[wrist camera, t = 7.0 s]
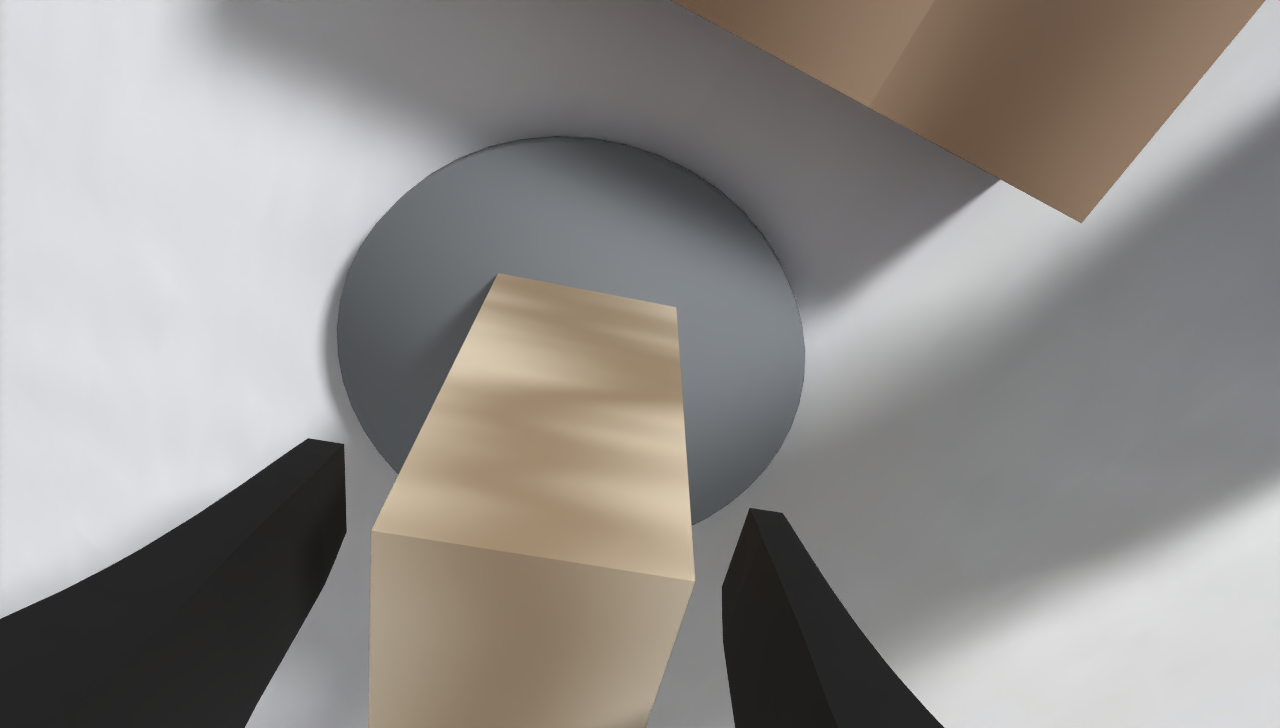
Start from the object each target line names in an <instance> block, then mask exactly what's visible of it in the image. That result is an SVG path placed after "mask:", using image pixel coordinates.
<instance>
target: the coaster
mask: <svg viewBox="0 0 1280 728" xmlns="http://www.w3.org/2000/svg"><path fill="white" fill-rule="evenodd" d="M498 273H500V274H506V275H511V276H516V277H521V278H527V279H532V280H537V281H542V282H547V283H553V284H558V285H563V286H568V287H573V288H579V289H584V290H589V291H594V292H599V293H605V294H610V295H615V296H620V297H625V298H631V299H636V300H641V301H646V302H652V303H657V304H662V305H667V306H672V307H676V310H677V325H678V339H679V354H680V368H681V382H682V397H683V411H684V425H685V440H686V454H687V469H688V483H689V497H690V512H691V526H692V525H694V524H696V523H698V522H700V521H702V520H704V519H706V518H708V517H709V516H711V515H712V514H714V513H716V512H717V511H719V510H720V509H722V508H723V507H725V506H726V505H728V504H729V503H730V502H732V501H733V500H734V499H735V498H736V497H738V496H739V495H740V494H741V493H742V492H744V491H745V490H746V489H747V488H748V487H749V486H750V485H751V484H752V483H753V482H754V481H755V480H756V479H757V478H758V476H759V475H760V474H761V473H762V472H763V471H764V470H765V469H766V467H767V466H768V464H769V463H770V462H771V460H772V459H773V457H774V456H775V455H776V453H777V452H778V450H779V449H780V447H781V445H782V443H783V441H784V439H785V437H786V435H787V434H788V432H789V430H790V428H791V425H792V422H793V419H794V417H795V414H796V411H797V408H798V405H799V402H800V396H801V391H802V386H803V381H804V367H805V346H804V337H803V329H802V322H801V319H800V315H799V311H798V308H797V304H796V300H795V297H794V294H793V292H792V290H791V287H790V285H789V283H788V280H787V278H786V276H785V274H784V271H783V269H782V267H781V265H780V262H779V260H778V258H777V257H776V255H775V254H774V252H773V250H772V249H771V247H770V246H769V244H768V242H767V241H766V239H765V238H764V236H763V235H762V233H761V232H760V231H759V230H758V229H757V227H756V226H755V225H754V224H753V223H752V222H751V220H750V219H749V218H748V217H747V216H746V214H745V213H744V212H743V211H742V210H741V209H740V208H739V207H738V206H736V205H735V204H734V203H733V202H732V201H731V200H730V199H729V198H727V197H726V196H725V195H724V194H723V193H722V192H721V191H720V190H718V189H717V188H716V187H714V186H713V185H711V184H710V183H708V182H707V181H705V180H704V179H702V178H701V177H699V176H698V175H696V174H695V173H693V172H692V171H690V170H688V169H686V168H684V167H682V166H680V165H678V164H676V163H674V162H671V161H669V160H667V159H665V158H663V157H661V156H659V155H656V154H653V153H650V152H647V151H644V150H641V149H638V148H635V147H632V146H629V145H625V144H620V143H615V142H609V141H604V140H599V139H593V138H578V137H559V136H556V137H544V138H532V139H522V140H517V141H513V142H508V143H504V144H499V145H495V146H490V147H487V148H485V149H482V150H480V151H477V152H474V153H472V154H469V155H466V156H464V157H461V158H459V159H457V160H455V161H453V162H451V163H450V164H448V165H446V166H444V167H442V168H441V169H439V170H437V171H435V172H433V173H432V174H430V175H429V176H427V177H426V178H425V179H424V180H422V181H421V182H420V183H418V184H417V185H416V186H415V187H413V188H412V189H411V190H409V191H408V192H407V193H406V194H405V195H404V196H402V197H401V198H400V199H399V200H398V201H397V202H396V203H395V204H394V205H393V206H392V208H391V209H390V210H389V211H388V212H387V213H386V214H385V215H384V216H383V217H382V218H381V219H380V220H379V221H378V222H377V223H376V225H375V226H374V228H373V229H372V231H371V232H370V234H369V235H368V237H367V238H366V240H365V241H364V243H363V244H362V245H361V247H360V249H359V251H358V253H357V255H356V257H355V259H354V261H353V264H352V266H351V268H350V270H349V272H348V275H347V278H346V282H345V285H344V289H343V292H342V296H341V300H340V306H339V315H338V324H337V340H338V357H339V362H340V367H341V373H342V378H343V382H344V385H345V388H346V391H347V394H348V397H349V400H350V402H351V405H352V408H353V410H354V412H355V414H356V416H357V418H358V420H359V422H360V423H361V425H362V427H363V429H364V431H365V432H366V434H367V435H368V437H369V438H370V440H371V441H372V443H373V444H374V446H375V447H376V449H377V450H378V452H379V453H380V454H381V455H382V456H383V458H384V459H385V460H386V461H387V462H388V463H389V464H390V466H391V467H392V468H393V469H394V470H395V471H396V472H397V473H398V474H399V473H400V471H401V469H402V467H403V465H404V463H405V461H406V459H407V457H408V455H409V453H410V451H411V449H412V447H413V445H414V443H415V441H416V439H417V436H418V434H419V432H420V430H421V428H422V426H423V424H424V422H425V420H426V418H427V416H428V414H429V412H430V410H431V408H432V406H433V404H434V402H435V400H436V398H437V396H438V394H439V392H440V390H441V388H442V386H443V384H444V382H445V380H446V378H447V376H448V374H449V372H450V370H451V368H452V366H453V364H454V361H455V359H456V357H457V355H458V353H459V351H460V349H461V347H462V345H463V343H464V341H465V339H466V337H467V335H468V333H469V331H470V329H471V327H472V325H473V323H474V321H475V319H476V317H477V315H478V313H479V311H480V309H481V307H482V305H483V303H484V301H485V299H486V297H487V295H488V293H489V291H490V289H491V286H492V284H493V282H494V280H495V278H496V276H497V274H498Z"/></svg>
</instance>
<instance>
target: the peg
mask: <svg viewBox="0 0 1280 728" xmlns="http://www.w3.org/2000/svg"><path fill="white" fill-rule="evenodd" d="M694 584H695V569H694V555H693V541H692V526H691V512H690V497H689V483H688V469H687V454H686V440H685V425H684V411H683V397H682V382H681V368H680V354H679V339H678V325H677V310H676V307H672V306H667V305H662V304H657V303H652V302H646V301H641V300H636V299H631V298H625V297H620V296H615V295H610V294H605V293H599V292H594V291H589V290H584V289H579V288H573V287H568V286H563V285H558V284H553V283H547V282H542V281H537V280H532V279H527V278H521V277H516V276H511V275H506V274H500V273H498V274H497V276H496V278H495V280H494V282H493V284H492V286H491V289H490V291H489V293H488V295H487V297H486V299H485V301H484V303H483V305H482V307H481V309H480V311H479V313H478V315H477V317H476V319H475V321H474V323H473V325H472V327H471V329H470V331H469V333H468V335H467V337H466V339H465V341H464V343H463V345H462V347H461V349H460V351H459V353H458V355H457V357H456V359H455V361H454V364H453V366H452V368H451V370H450V372H449V374H448V376H447V378H446V380H445V382H444V384H443V386H442V388H441V390H440V392H439V394H438V396H437V398H436V400H435V402H434V404H433V406H432V408H431V410H430V412H429V414H428V416H427V418H426V420H425V422H424V424H423V426H422V428H421V430H420V432H419V434H418V436H417V439H416V441H415V443H414V445H413V447H412V449H411V451H410V453H409V455H408V457H407V459H406V461H405V463H404V465H403V467H402V469H401V471H400V473H399V475H398V477H397V479H396V481H395V483H394V485H393V487H392V489H391V491H390V493H389V495H388V497H387V499H386V501H385V503H384V505H383V507H382V509H381V511H380V514H379V516H378V518H377V520H376V522H375V524H374V526H373V528H372V530H371V575H370V646H369V718H368V728H645V727H646V724H647V721H648V718H649V715H650V712H651V710H652V707H653V704H654V701H655V698H656V695H657V692H658V689H659V686H660V683H661V680H662V677H663V675H664V672H665V669H666V666H667V663H668V660H669V657H670V654H671V651H672V648H673V645H674V642H675V639H676V637H677V634H678V631H679V628H680V625H681V622H682V619H683V616H684V613H685V610H686V607H687V604H688V601H689V599H690V596H691V593H692V590H693V587H694Z"/></svg>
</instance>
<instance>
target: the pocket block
mask: <svg viewBox="0 0 1280 728" xmlns="http://www.w3.org/2000/svg"><path fill="white" fill-rule="evenodd" d="M671 1H673V2H675V3H677V4H679V5H681V6H683V7H684V8H686V9H688V10H690V11H692V12H694V13H695V14H697V15H699V16H701V17H703V18H705V19H706V20H708V21H710V22H712V23H714V24H716V25H718V26H719V27H721V28H723V29H725V30H727V31H729V32H730V33H732V34H734V35H736V36H738V37H740V38H741V39H743V40H745V41H747V42H749V43H751V44H752V45H754V46H756V47H758V48H760V49H762V50H764V51H765V52H767V53H769V54H771V55H773V56H775V57H776V58H778V59H780V60H782V61H784V62H786V63H787V64H789V65H791V66H793V67H795V68H797V69H798V70H800V71H802V72H804V73H806V74H808V75H810V76H811V77H813V78H815V79H817V80H819V81H821V82H822V83H824V84H826V85H828V86H830V87H832V88H833V89H835V90H837V91H839V92H841V93H843V94H844V95H846V96H848V97H850V98H852V99H854V100H856V101H857V102H859V103H861V104H863V105H865V106H867V107H868V108H870V109H872V110H874V111H876V112H878V113H879V114H881V115H883V116H885V117H887V118H889V119H890V120H892V121H894V122H896V123H898V124H900V125H902V126H903V127H905V128H907V129H909V130H911V131H913V132H914V133H916V134H918V135H920V136H922V137H924V138H925V139H927V140H929V141H931V142H933V143H935V144H936V145H938V146H940V147H942V148H944V149H946V150H948V151H949V152H951V153H953V154H955V155H957V156H959V157H960V158H962V159H964V160H966V161H968V162H970V163H971V164H973V165H975V166H977V167H979V168H981V169H982V170H984V171H986V172H988V173H990V174H992V175H994V176H995V177H997V178H999V179H1001V180H1003V181H1005V182H1006V183H1008V184H1010V185H1012V186H1014V187H1016V188H1017V189H1019V190H1021V191H1023V192H1025V193H1027V194H1029V195H1030V196H1032V197H1034V198H1036V199H1038V200H1040V201H1041V202H1043V203H1045V204H1047V205H1049V206H1051V207H1052V208H1054V209H1056V210H1058V211H1060V212H1062V213H1063V214H1065V215H1067V216H1069V217H1071V218H1073V219H1075V220H1076V221H1078V222H1080V223H1082V222H1083V221H1084V219H1085V218H1086V217H1087V216H1088V215H1089V213H1090V212H1091V211H1092V210H1093V209H1094V207H1095V206H1096V205H1097V204H1098V203H1099V201H1100V200H1101V199H1102V198H1103V196H1104V195H1105V194H1106V193H1107V192H1108V190H1109V189H1110V188H1111V187H1112V186H1113V184H1114V183H1115V182H1116V181H1117V180H1118V178H1119V177H1120V176H1121V175H1122V173H1123V172H1124V171H1125V170H1126V169H1127V167H1128V166H1129V165H1130V164H1131V163H1132V161H1133V160H1134V159H1135V158H1136V156H1137V155H1138V154H1139V153H1140V152H1141V150H1142V149H1143V148H1144V147H1145V146H1146V144H1147V143H1148V142H1149V141H1150V140H1151V138H1152V137H1153V136H1154V135H1155V133H1156V132H1157V131H1158V130H1159V129H1160V127H1161V126H1162V125H1163V124H1164V123H1165V121H1166V120H1167V119H1168V118H1169V117H1170V115H1171V114H1172V113H1173V112H1174V110H1175V109H1176V108H1177V107H1178V106H1179V104H1180V103H1181V102H1182V101H1183V100H1184V98H1185V97H1186V96H1187V95H1188V94H1189V92H1190V91H1191V90H1192V89H1193V87H1194V86H1195V85H1196V84H1197V83H1198V81H1199V80H1200V79H1201V78H1202V77H1203V75H1204V74H1205V73H1206V72H1207V70H1208V69H1209V68H1210V67H1211V66H1212V64H1213V63H1214V62H1215V61H1216V60H1217V58H1218V57H1219V56H1220V55H1221V54H1222V52H1223V51H1224V50H1225V49H1226V47H1227V46H1228V45H1229V44H1230V43H1231V41H1232V40H1233V39H1234V38H1235V37H1236V35H1237V34H1238V33H1239V32H1240V31H1241V29H1242V28H1243V27H1244V26H1245V24H1246V23H1247V22H1248V21H1249V20H1250V18H1251V17H1252V16H1253V15H1254V14H1255V12H1256V11H1257V10H1258V9H1259V8H1260V6H1261V5H1262V4H1263V3H1264V1H1265V0H671Z"/></svg>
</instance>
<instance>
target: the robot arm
mask: <svg viewBox="0 0 1280 728" xmlns="http://www.w3.org/2000/svg"><path fill="white" fill-rule="evenodd" d="M346 532H347V530H346V495H345V459H344V444H341V443H334V442H328V441H322V440H315V439H309V438H308V439H307V440H305V441H304V442H302V443H301V444H299V445H298V446H296V447H295V448H293V449H292V450H290V451H289V452H287V453H286V454H284V455H283V456H282V457H280V458H279V459H277V460H276V461H274V462H273V463H272V464H270V465H269V466H267V467H266V468H265V469H263V470H262V471H260V472H259V473H257V474H256V475H255V476H253V477H252V478H250V479H249V480H247V481H246V482H245V483H243V484H242V485H240V486H239V487H237V488H236V489H234V490H233V491H231V492H230V493H228V494H227V495H225V496H224V497H222V498H221V499H219V500H218V501H216V502H215V503H213V504H212V505H211V506H209V507H208V508H206V509H205V510H203V511H202V512H200V513H198V514H197V515H195V516H194V517H192V518H191V519H189V520H188V521H186V522H184V523H183V524H181V525H179V526H178V527H176V528H174V529H173V530H171V531H170V532H168V533H166V534H165V535H163V536H161V537H160V538H158V539H157V540H155V541H153V542H152V543H150V544H148V545H147V546H145V547H143V548H142V549H140V550H138V551H136V552H135V553H133V554H131V555H129V556H128V557H126V558H124V559H122V560H120V561H119V562H117V563H115V564H113V565H111V566H109V567H107V568H106V569H104V570H102V571H100V572H98V573H96V574H94V575H92V576H90V577H88V578H86V579H84V580H82V581H80V582H78V583H77V584H75V585H73V586H71V587H69V588H67V589H65V590H63V591H61V592H58V593H56V594H54V595H52V596H50V597H48V598H45V599H43V600H41V601H39V602H37V603H34V604H32V605H30V606H28V607H26V608H23V609H21V610H19V611H17V612H15V613H12V614H10V615H8V616H6V617H4V618H1V619H0V728H245V726H246V724H247V722H248V720H249V718H250V716H251V714H252V712H253V711H254V709H255V707H256V705H257V703H258V701H259V699H260V698H261V696H262V694H263V692H264V691H265V689H266V687H267V685H268V684H269V682H270V680H271V678H272V677H273V675H274V673H275V671H276V670H277V668H278V666H279V664H280V663H281V661H282V659H283V657H284V656H285V654H286V652H287V650H288V649H289V647H290V645H291V643H292V642H293V640H294V638H295V636H296V635H297V633H298V631H299V629H300V628H301V626H302V624H303V622H304V621H305V619H306V617H307V615H308V614H309V612H310V610H311V608H312V606H313V605H314V603H315V601H316V599H317V598H318V596H319V594H320V592H321V590H322V588H323V587H324V585H325V583H326V580H327V578H328V576H329V573H330V571H331V569H332V566H333V564H334V562H335V559H336V557H337V554H338V552H339V549H340V547H341V544H342V542H343V539H344V537H345V534H346ZM722 623H723V644H724V652H725V659H726V666H727V674H728V681H729V688H730V695H731V702H732V709H733V715H734V722H735V728H944V727H943V726H942V725H941V724H940V723H939V722H938V721H937V720H936V719H935V717H934V716H933V715H932V714H931V713H930V712H929V711H928V710H927V709H926V708H925V707H924V706H923V705H922V703H921V702H920V701H919V700H918V699H917V698H916V697H915V696H914V694H913V693H912V692H911V691H910V690H909V689H908V688H907V687H906V685H905V684H904V683H903V682H902V681H901V680H900V679H899V677H898V676H897V675H896V674H895V673H894V672H893V670H892V669H891V668H890V667H889V666H888V664H887V663H886V662H885V661H884V659H883V658H882V657H881V656H880V654H879V653H878V652H877V651H876V649H875V648H874V647H873V645H872V644H871V643H870V641H869V640H868V639H867V638H866V636H865V635H864V634H863V632H862V631H861V630H860V629H859V627H858V626H857V624H856V623H855V622H854V620H853V619H852V618H851V616H850V615H849V613H848V612H847V610H846V609H845V608H844V606H843V605H842V603H841V602H840V600H839V599H838V597H837V596H836V595H835V593H834V592H833V590H832V589H831V587H830V586H829V584H828V583H827V581H826V580H825V578H824V577H823V575H822V574H821V572H820V571H819V569H818V568H817V566H816V564H815V563H814V561H813V560H812V558H811V557H810V555H809V554H808V552H807V550H806V549H805V547H804V546H803V544H802V543H801V541H800V539H799V538H798V536H797V535H796V533H795V532H794V530H793V528H792V527H791V525H790V524H789V522H788V521H787V519H786V518H785V516H784V515H783V513H779V512H772V511H766V510H760V509H753V508H750V509H749V512H748V515H747V517H746V520H745V523H744V526H743V529H742V532H741V534H740V537H739V540H738V543H737V546H736V549H735V551H734V554H733V557H732V560H731V563H730V566H729V569H728V571H727V574H726V577H725V580H724V583H723V586H722Z"/></svg>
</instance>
